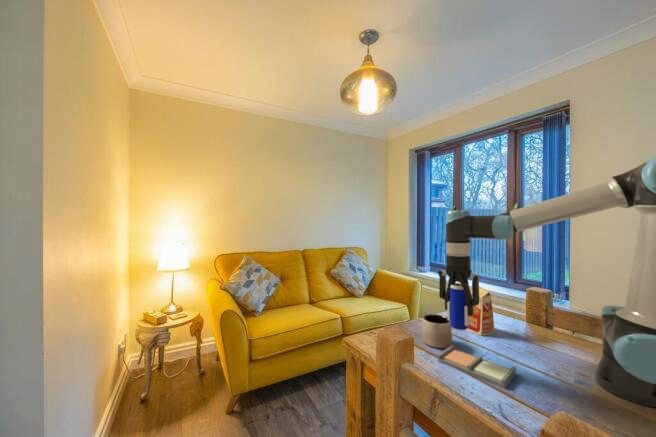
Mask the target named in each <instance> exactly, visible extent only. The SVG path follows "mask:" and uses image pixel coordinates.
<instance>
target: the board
mask: <svg viewBox="0 0 656 437" xmlns="http://www.w3.org/2000/svg"><path fill="white" fill-rule="evenodd" d="M437 362H438V363H442V364H444V365H446V366H449V367H452V368H454V369H456V370H458V371H461V372H462V373H466V374H467V375H470V376H473V377H475V378H478V379H480V380H483V381H484V382H485V381H486V382H487V383H490V384H492V385H495V386H498V387H500V388H502V389H505V388H506V387H508V385H509V384H510V382H511V381H512V380H513V378H515V376H517V366H514V365H512V366H511V368H510V367H506V366H503V365H501V364H499V363H497V362H496V363H495V362H492V361H490V360H488V359H487V360H486V359H484V358H483V355H480V354H479V355H478V356H475V355H473V354H470V353H467V352H464V351H462V350H459V349H456V347H455V345H454V344H452V345H451V346H450V347H448V348H445V349H443V351H441V352H440V353H438V354H437Z"/></svg>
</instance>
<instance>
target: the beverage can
mask: <svg viewBox="0 0 656 437" xmlns="http://www.w3.org/2000/svg"><path fill="white" fill-rule="evenodd" d="M465 305H467V303H466V299H465V295H464V289H463V287H462V286H461V283H455V284H453V285H451V287H450V307H451V327H452V330H455V331H459V332H465V331H467V330H466V329H467V326H466V325H465Z"/></svg>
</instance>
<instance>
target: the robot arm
mask: <svg viewBox="0 0 656 437" xmlns="http://www.w3.org/2000/svg"><path fill="white" fill-rule="evenodd" d="M618 207H619V208H622V209H629V208H634V209H635V210H637V212H638V213H639V214H640V219H639V226H638V231H637V232H638V233H637V237H636V242H635V247H634V248H635V249H634V255H633V259H632V267H631V272H630V278H629V285H628V291H627V295H626V301H625V306H621V305H620V306H619V305H604V306H603V307H602V308H601V313H600V317H601V343H602V346H601V348H602V355H601V357H600V359H599V362H598V363H597V365H596V368H595V370H594V381H595V382H596V384H598V386H599V387H600V388H602V389H604V390H606V391H607V392H609V393H611V394H613V395H615V396H616V397H619V398H621V399H624V400H627V401H629V402H632V403H636V404H639V405H642V406H646V407H652V408H656V155H655V156H652V157H650V159H648V160H647V161H645V162H643V163H642V164H639V165H638V166H636V167H634V168H632V169H629V170H628V171H625V172H623V173H620V174H618V175H614V176H610V177H609V178H608V179H607V181H606V182H602V183H600V184H597V185H593V186H590V187H587V188H584V189H580V190H579V189H578V190H576V191H574V192H569V193H567V194H563V195H559V196H556V197H553V198H550V199H546V200H543V201H541V202H537V203H533V204H530V205H527V206H523V207H520V208H517V209H512V210H510V211H507V212H503V213H500V214H495V215H471V213H470V210H469V209H459V210H456V209H454V210H448V211H446V215H445V240H446V241H445V242H446V243H445V245H446V246H445V247H446V248H445V253H446V254H447V255H445V262H446V263H445V264H446V267H445V269H440V270H438V271H437V274H438V277H439V288H438V290H439V292H438V293H439V294H438V295H439V298H440V299H442V300H443V301H444V309H445V311H447V316H446V317H447V320H448V321H450V320H451V307H450V287H451V285H453V284H455V283H456V282H458V283H459V284H461V286H462V287H463V289H464V295H465V299H466V303H467V305H465V325H466V326H468V325H469V324H470V316H472V315H473V306H476V305H478V304H479V286H480V280H481V275H480V274H475V273H473V272H472V270H471V256H470V254H471V239H488V240H489V239H490V240H510V239H512V238H513V235H514V234H515V233H518V232H522V231H526V230H530V229H533V228H538V227H543V226H546V225H550V224H554V223H559V222H562V221H565V220H569V219H570V220H571V219H575V218H578V217H581V216H582V217H583V216H585V215H590V214H593V213H597V212H602V211H607V210H610V209H614V208H618ZM447 276H448V281H447ZM469 278H471V281H472V282H471V289H470V285H469ZM447 282H448V284H447ZM471 290H472V295H471V292H470V291H471Z"/></svg>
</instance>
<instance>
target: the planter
mask: <svg viewBox="0 0 656 437" xmlns="http://www.w3.org/2000/svg"><path fill="white" fill-rule="evenodd" d="M452 331H453V328H452V327H451V320H450V321H448V320H447V316H445V315H441V314H434V313H432V314H431V313H429V314H425V315H423V316H422V342H423V343H424V344H426V346H428V347H430V348H434V349H440V350H441V349H443V350H445V349H447V348H449V347H450V346H451V345H453V335H452V334H453V332H452Z"/></svg>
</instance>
